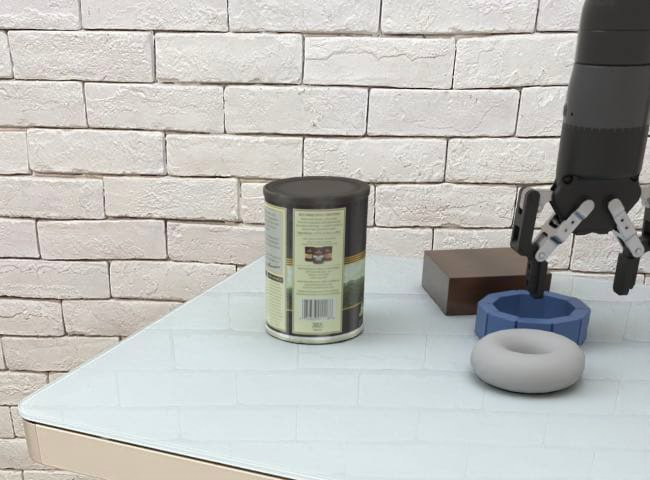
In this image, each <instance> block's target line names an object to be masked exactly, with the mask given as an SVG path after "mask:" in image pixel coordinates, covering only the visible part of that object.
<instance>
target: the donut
mask: <svg viewBox="0 0 650 480" xmlns="http://www.w3.org/2000/svg"><path fill="white" fill-rule="evenodd" d="M469 358H470V359H469V360H470V365H471V367H472V370H473V372H474V373H475V375H476V376H477V377H478V378H479V379H481V380H482V381H483V382H484V383H486V384H489V385H491V386H494V387H496V388H498V389H501V390H506V391H509V392H513V393H522V394H544V393H552V392H557V391H558V392H559V391H561V390H564V389H566V388H569V387H571V386H572V385H574V384H575V383H576V382H577V381H578V380H579V379H580V378H581V377H582V376H583V374H584V372H585V370H586V369H585V367H586V356H585V353H584V350H583V349H581V347H580V346H578V345H577V344H576V343H575V342H574V341H572V340H570V339H568V338H566V337H564V336H562V335H559V334H556V333H553V332H548V331H543V330H536V329H508V330H501V331H497V332H494V333H491V334H488V335H486V336H485V337H483V338H482V339H480V338H479V340H477V341H476V343H475V344H474V346H473V347H472V350H471V352H470V357H469Z"/></svg>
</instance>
